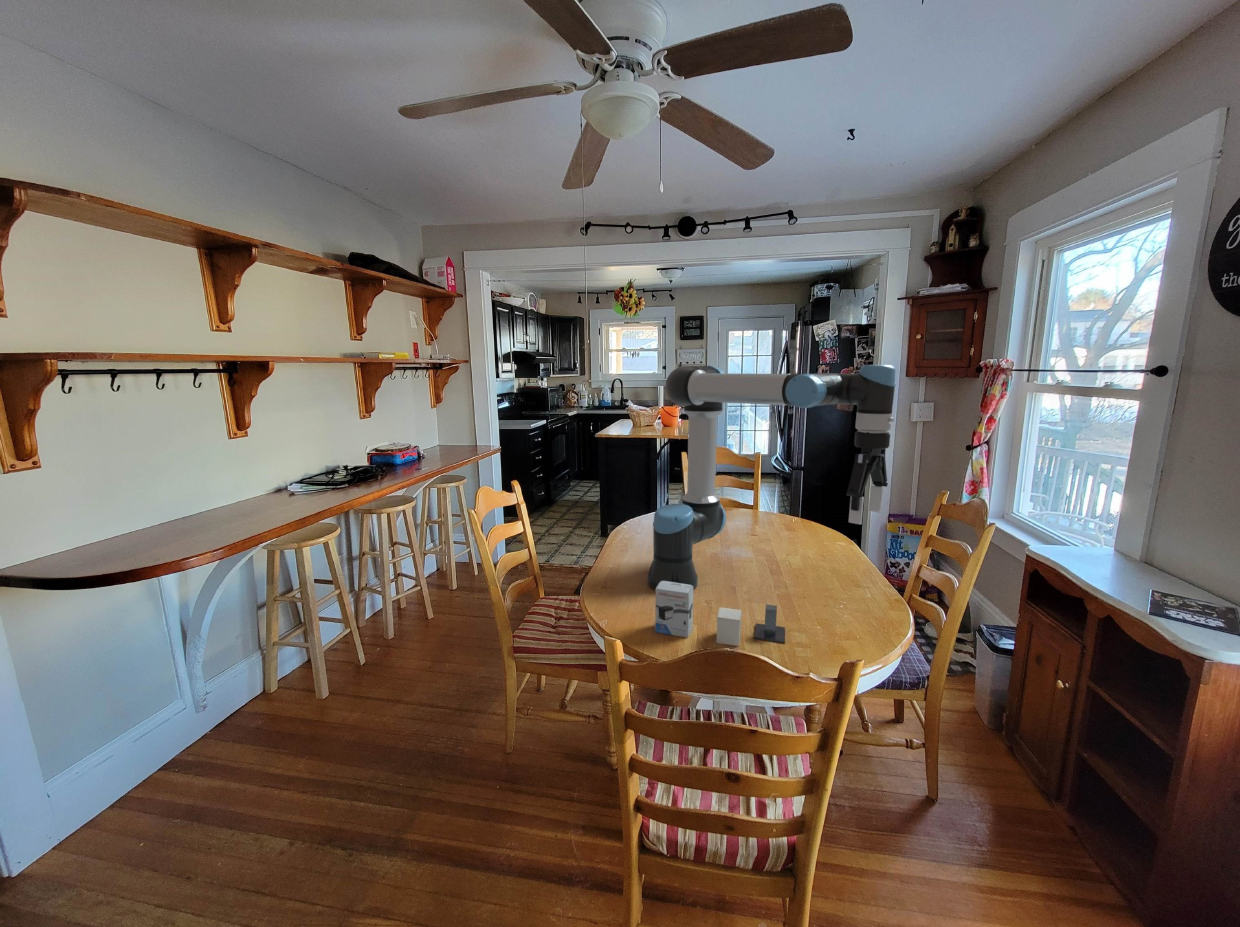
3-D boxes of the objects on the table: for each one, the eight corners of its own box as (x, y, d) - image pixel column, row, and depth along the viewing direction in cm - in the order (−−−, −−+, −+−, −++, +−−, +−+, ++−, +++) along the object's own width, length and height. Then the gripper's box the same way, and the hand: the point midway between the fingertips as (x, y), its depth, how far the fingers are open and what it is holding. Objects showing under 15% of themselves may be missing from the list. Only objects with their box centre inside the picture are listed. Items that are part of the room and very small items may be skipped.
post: (754, 638, 122) (755, 611, 121) (755, 625, 129) (757, 599, 128) (784, 643, 120) (786, 615, 119) (784, 629, 127) (786, 602, 126)
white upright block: (716, 642, 121) (717, 616, 119) (718, 632, 126) (719, 607, 124) (738, 646, 119) (739, 620, 118) (740, 635, 124) (741, 610, 123)
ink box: (654, 632, 126) (654, 587, 124) (660, 623, 130) (660, 580, 128) (688, 638, 123) (689, 593, 121) (692, 629, 127) (693, 584, 125)
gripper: (870, 437, 109) (862, 532, 113) (906, 427, 127) (898, 509, 131) (835, 434, 114) (829, 525, 118) (874, 425, 132) (867, 504, 136)
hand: (865, 517), depth 125 cm, fingers open, 13 cm apart
